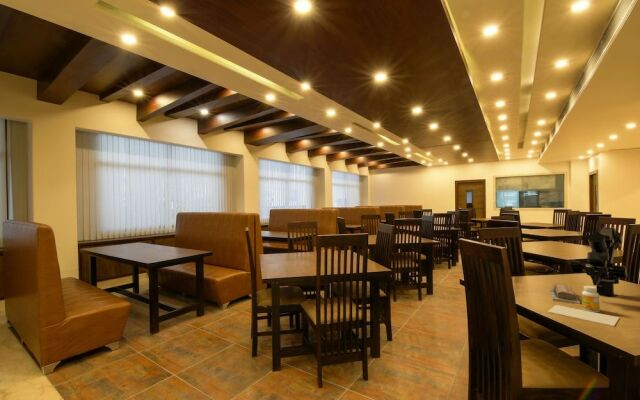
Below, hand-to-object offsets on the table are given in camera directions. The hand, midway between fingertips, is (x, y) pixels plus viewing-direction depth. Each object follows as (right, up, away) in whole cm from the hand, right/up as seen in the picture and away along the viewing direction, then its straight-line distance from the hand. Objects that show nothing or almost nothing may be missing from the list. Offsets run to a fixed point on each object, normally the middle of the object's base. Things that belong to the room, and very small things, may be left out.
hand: (594, 284), depth 132 cm
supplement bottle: (-7, -9, -5) cm, 13 cm away
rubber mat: (-15, -9, -11) cm, 20 cm away
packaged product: (-4, -10, +12) cm, 16 cm away
